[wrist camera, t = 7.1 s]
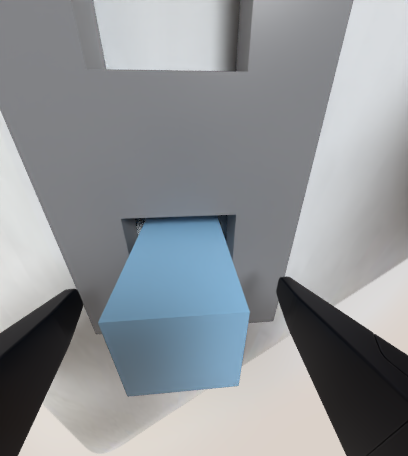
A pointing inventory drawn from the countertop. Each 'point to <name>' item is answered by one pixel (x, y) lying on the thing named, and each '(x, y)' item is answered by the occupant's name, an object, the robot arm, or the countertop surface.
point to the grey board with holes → (169, 136)
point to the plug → (177, 310)
